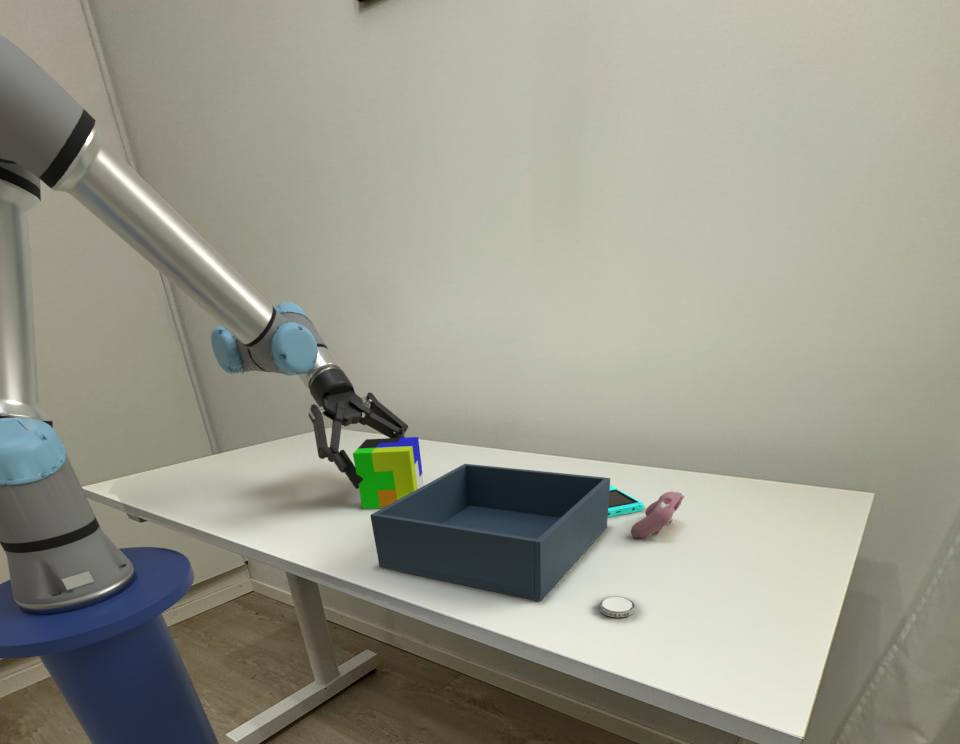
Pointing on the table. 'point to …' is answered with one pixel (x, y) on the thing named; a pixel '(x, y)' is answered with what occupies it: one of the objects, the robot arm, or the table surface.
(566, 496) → the bin
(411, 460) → the puzzle toy
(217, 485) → the table surface
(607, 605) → the white grey disc
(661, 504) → the video game controller
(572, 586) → the table surface
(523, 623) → the table surface
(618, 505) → the handheld game console
